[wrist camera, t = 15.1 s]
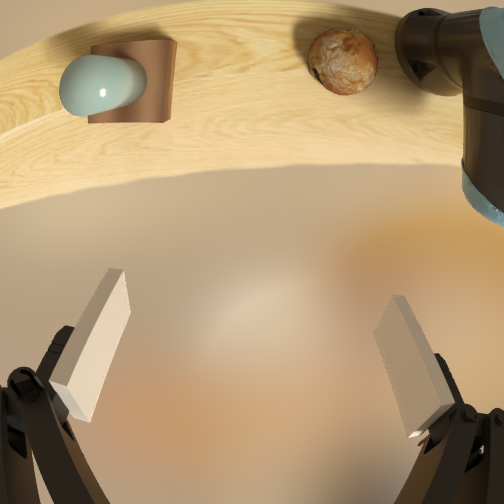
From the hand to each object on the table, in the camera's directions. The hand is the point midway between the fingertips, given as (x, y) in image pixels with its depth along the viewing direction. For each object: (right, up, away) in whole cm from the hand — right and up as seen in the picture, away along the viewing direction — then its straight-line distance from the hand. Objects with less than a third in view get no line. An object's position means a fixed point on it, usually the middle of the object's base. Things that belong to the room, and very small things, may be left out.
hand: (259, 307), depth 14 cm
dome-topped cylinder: (-18, +26, +20) cm, 37 cm away
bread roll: (+12, +30, +22) cm, 40 cm away
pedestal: (-18, +28, +24) cm, 41 cm away
